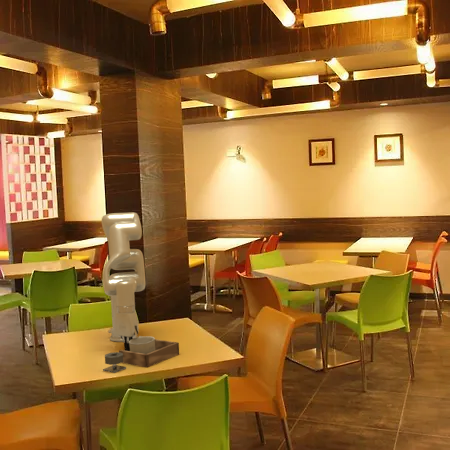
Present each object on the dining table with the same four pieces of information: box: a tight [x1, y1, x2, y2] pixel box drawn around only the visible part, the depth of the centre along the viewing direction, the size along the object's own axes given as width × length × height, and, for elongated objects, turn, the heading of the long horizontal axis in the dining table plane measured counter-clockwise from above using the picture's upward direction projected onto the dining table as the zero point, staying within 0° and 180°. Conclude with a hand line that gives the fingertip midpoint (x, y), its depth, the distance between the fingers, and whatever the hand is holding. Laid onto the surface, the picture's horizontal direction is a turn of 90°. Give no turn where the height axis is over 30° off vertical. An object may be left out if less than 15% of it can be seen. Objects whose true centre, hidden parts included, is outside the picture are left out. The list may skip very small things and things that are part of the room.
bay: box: [118, 338, 180, 368], centre depth 247 cm, size 15×20×5 cm
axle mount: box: [102, 364, 127, 374], centre depth 234 cm, size 6×6×3 cm
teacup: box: [129, 335, 156, 354], centre depth 249 cm, size 14×11×8 cm
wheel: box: [104, 351, 123, 366], centre depth 233 cm, size 7×7×3 cm
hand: (128, 351), depth 254 cm, fingers closed
